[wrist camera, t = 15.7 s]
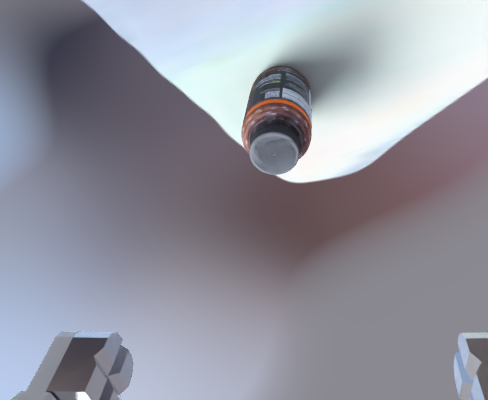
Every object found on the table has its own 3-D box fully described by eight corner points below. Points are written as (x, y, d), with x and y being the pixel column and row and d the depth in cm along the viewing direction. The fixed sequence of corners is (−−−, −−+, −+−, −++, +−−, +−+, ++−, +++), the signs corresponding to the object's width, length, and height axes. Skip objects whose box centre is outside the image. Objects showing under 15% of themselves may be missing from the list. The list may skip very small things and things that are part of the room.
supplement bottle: (276, 130, 46) (267, 197, 37) (238, 88, 43) (219, 149, 34) (323, 98, 43) (326, 162, 34) (286, 51, 40) (279, 107, 32)
